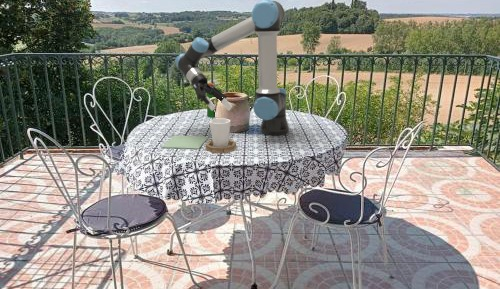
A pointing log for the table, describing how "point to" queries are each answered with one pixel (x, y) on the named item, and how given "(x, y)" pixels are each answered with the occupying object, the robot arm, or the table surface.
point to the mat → (185, 142)
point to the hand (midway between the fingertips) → (222, 108)
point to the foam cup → (220, 132)
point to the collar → (220, 149)
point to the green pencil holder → (209, 112)
